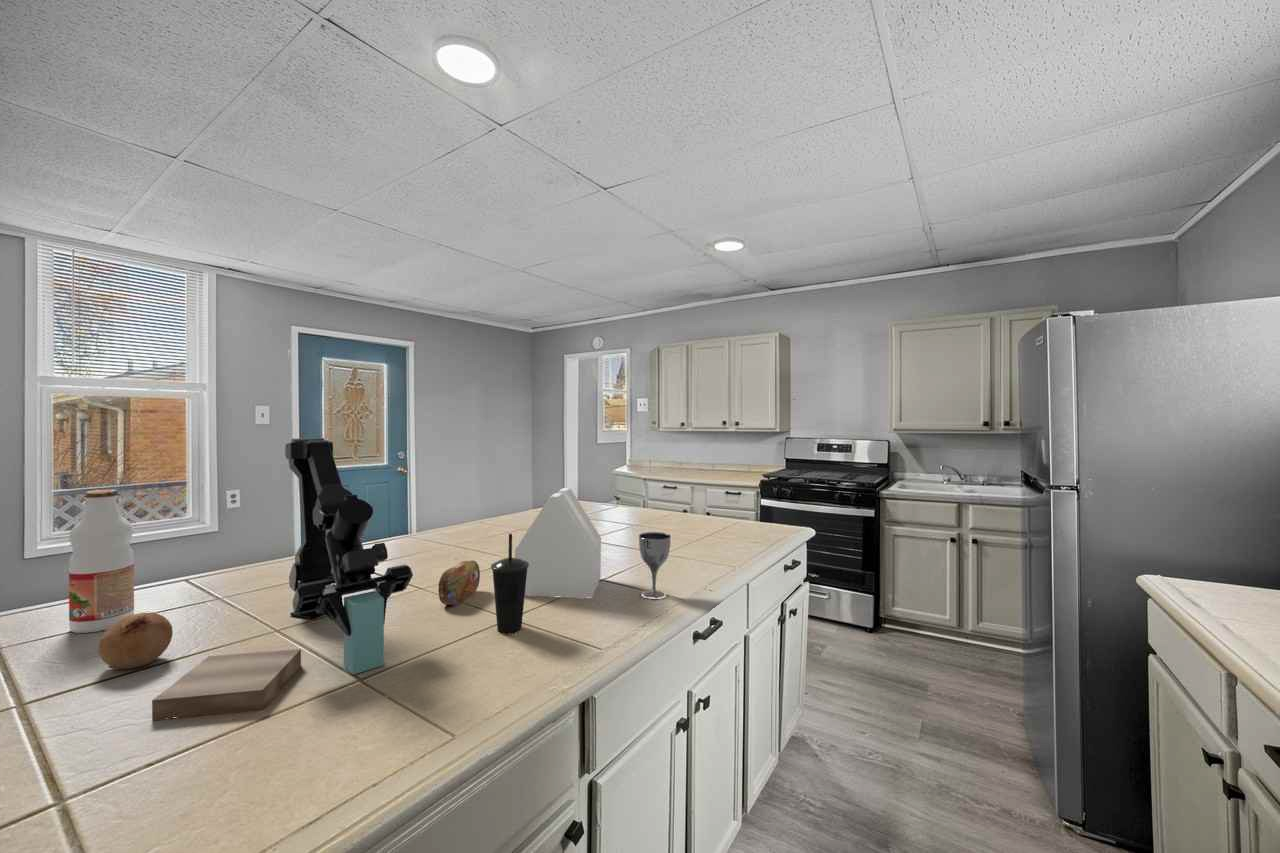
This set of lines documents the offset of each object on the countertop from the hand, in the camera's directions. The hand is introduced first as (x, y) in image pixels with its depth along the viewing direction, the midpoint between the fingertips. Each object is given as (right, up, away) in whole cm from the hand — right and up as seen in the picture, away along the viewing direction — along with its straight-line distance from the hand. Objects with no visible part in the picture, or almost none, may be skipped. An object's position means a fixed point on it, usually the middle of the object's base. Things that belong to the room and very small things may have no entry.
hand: (366, 630), depth 91 cm
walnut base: (-17, -7, -8) cm, 20 cm away
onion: (-41, -6, +1) cm, 41 cm away
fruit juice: (-64, -6, +17) cm, 67 cm away
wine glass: (+51, -7, +39) cm, 65 cm away
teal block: (-1, -7, +1) cm, 7 cm away
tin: (+4, -6, +35) cm, 36 cm away
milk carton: (+27, -7, +45) cm, 53 cm away
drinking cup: (+21, -7, +17) cm, 28 cm away
